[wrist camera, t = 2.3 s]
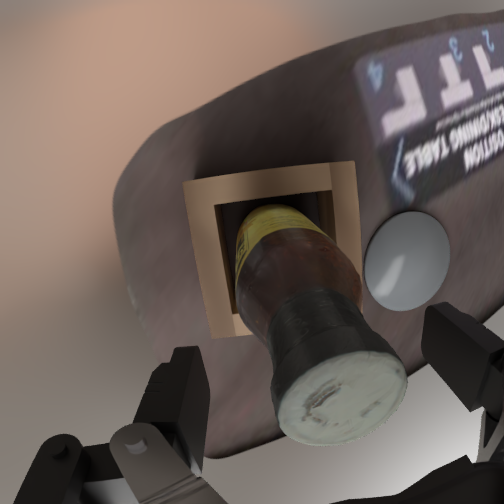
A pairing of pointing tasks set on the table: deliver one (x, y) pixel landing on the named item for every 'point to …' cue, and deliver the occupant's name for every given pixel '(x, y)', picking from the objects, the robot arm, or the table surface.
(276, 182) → the walnut holder
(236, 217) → the table surface
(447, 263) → the slate coaster
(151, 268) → the table surface
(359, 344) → the sauce bottle
